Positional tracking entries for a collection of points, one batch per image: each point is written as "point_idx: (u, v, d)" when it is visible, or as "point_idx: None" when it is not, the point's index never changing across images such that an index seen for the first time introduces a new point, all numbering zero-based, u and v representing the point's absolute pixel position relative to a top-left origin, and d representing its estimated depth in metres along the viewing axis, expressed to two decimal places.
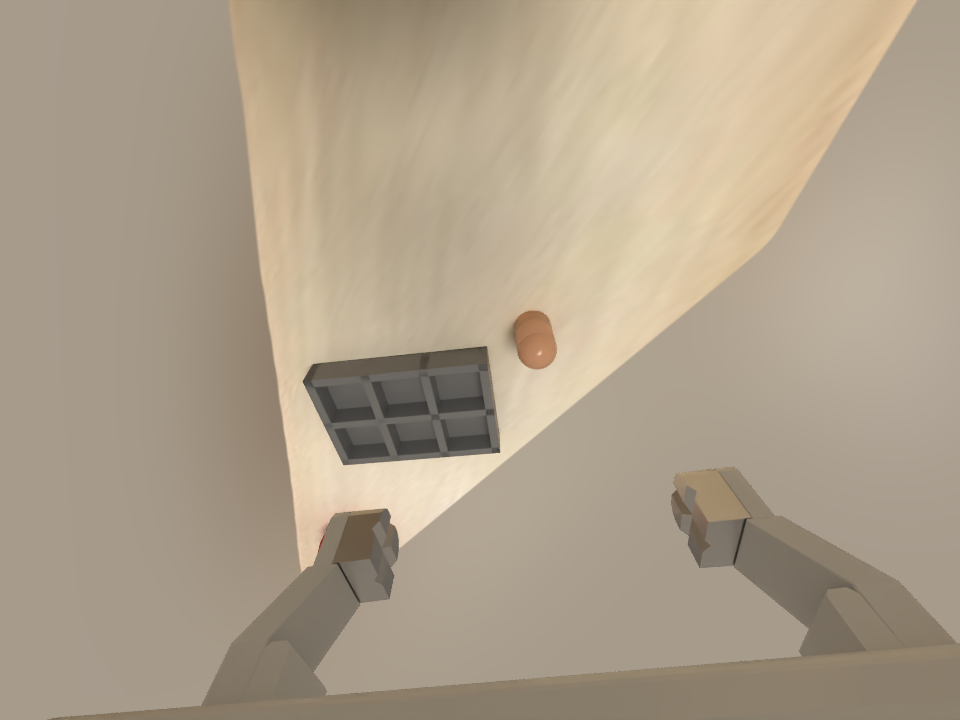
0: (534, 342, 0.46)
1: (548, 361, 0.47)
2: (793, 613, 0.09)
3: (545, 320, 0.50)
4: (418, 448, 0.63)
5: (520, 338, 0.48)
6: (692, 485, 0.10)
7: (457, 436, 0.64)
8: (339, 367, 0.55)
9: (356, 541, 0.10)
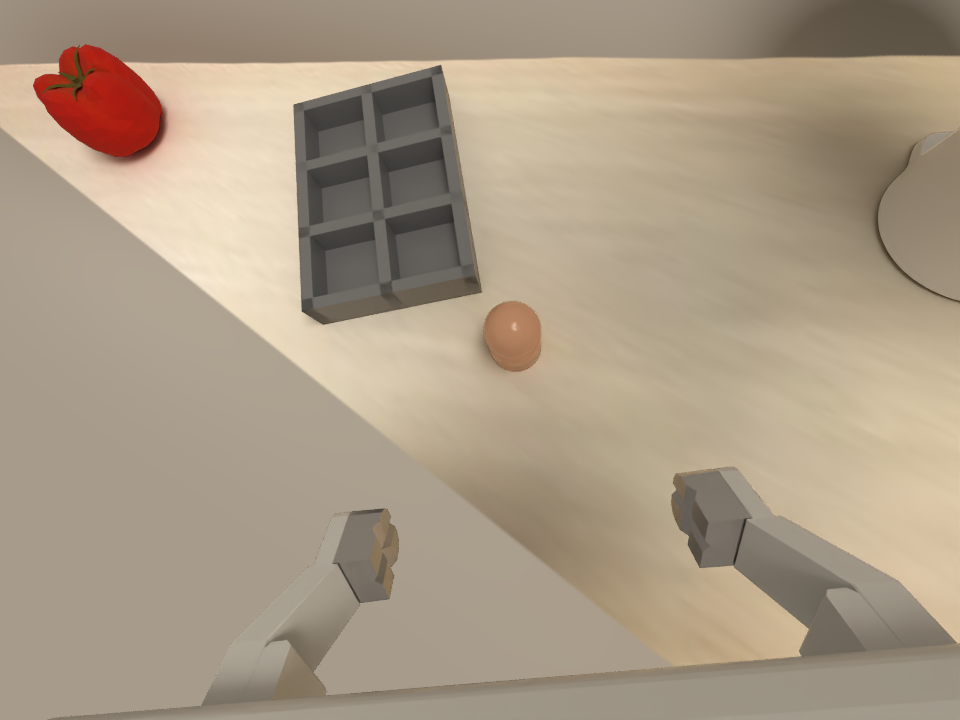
0: (533, 316, 0.32)
1: (508, 336, 0.31)
2: (793, 613, 0.09)
3: (536, 356, 0.36)
4: (313, 202, 0.42)
5: None
6: (692, 485, 0.10)
7: (326, 261, 0.43)
8: (451, 116, 0.44)
9: (356, 541, 0.10)
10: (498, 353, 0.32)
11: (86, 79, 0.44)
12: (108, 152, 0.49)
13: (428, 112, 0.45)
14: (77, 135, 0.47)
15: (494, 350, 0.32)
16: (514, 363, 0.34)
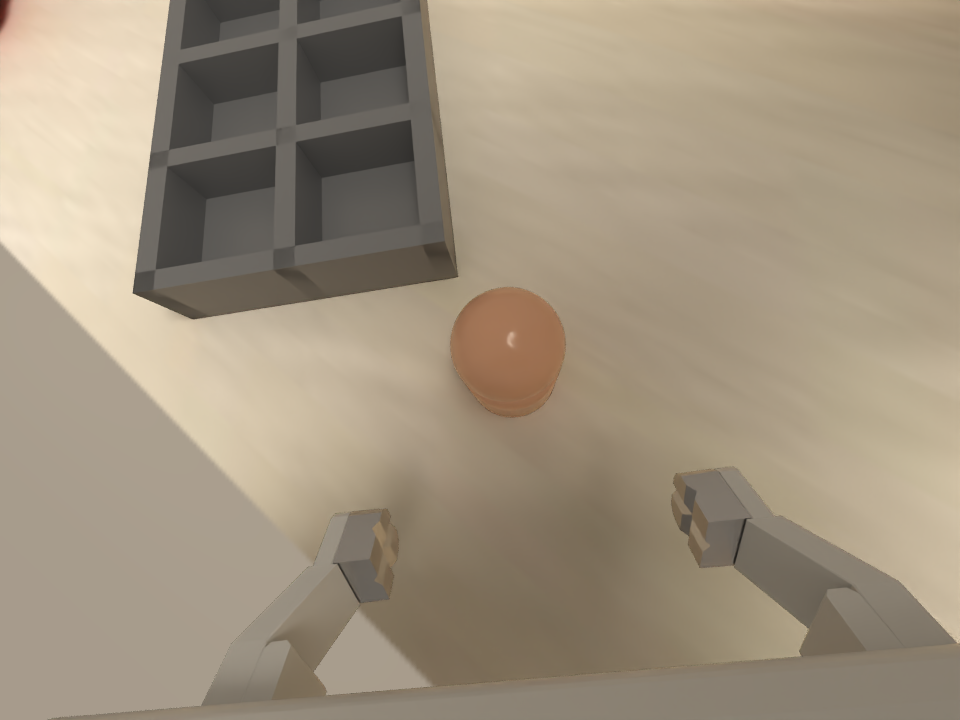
0: (554, 320, 0.15)
1: (499, 359, 0.14)
2: (793, 613, 0.09)
3: (549, 393, 0.20)
4: (189, 117, 0.26)
5: None
6: (692, 485, 0.10)
7: (205, 215, 0.26)
8: (424, 1, 0.28)
9: (356, 541, 0.10)
10: (478, 391, 0.16)
11: None
12: None
13: None
14: None
15: (470, 385, 0.16)
16: (509, 408, 0.18)
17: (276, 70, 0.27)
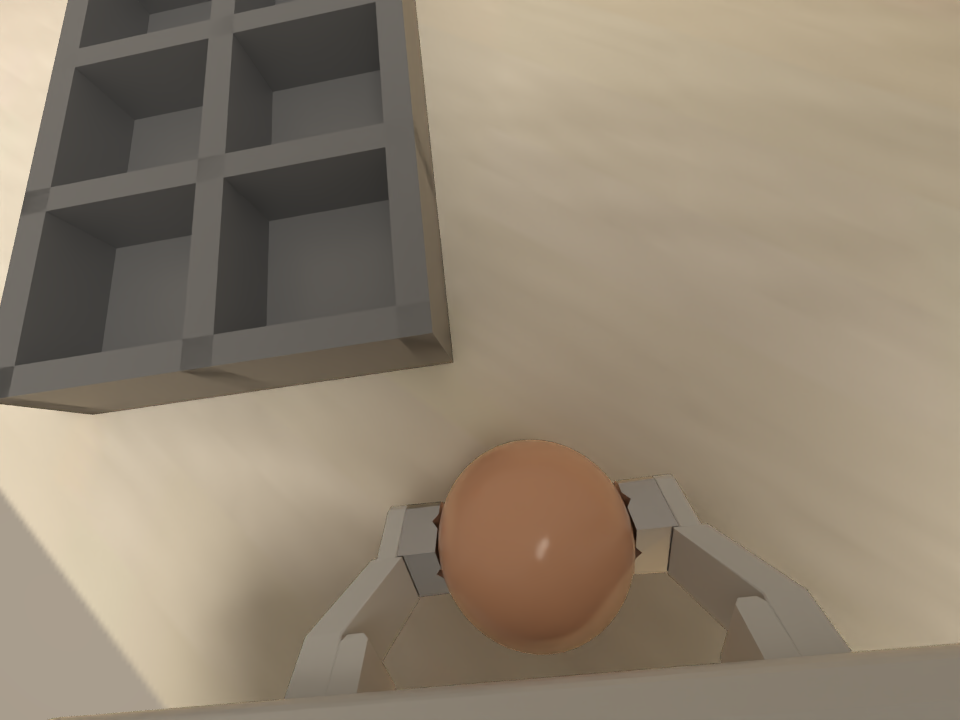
0: (619, 520, 0.09)
1: (526, 619, 0.08)
2: (718, 620, 0.09)
3: None
4: (90, 139, 0.19)
5: None
6: (627, 493, 0.10)
7: (113, 272, 0.19)
8: None
9: (418, 534, 0.10)
10: None
11: None
12: None
13: None
14: None
15: None
16: None
17: None
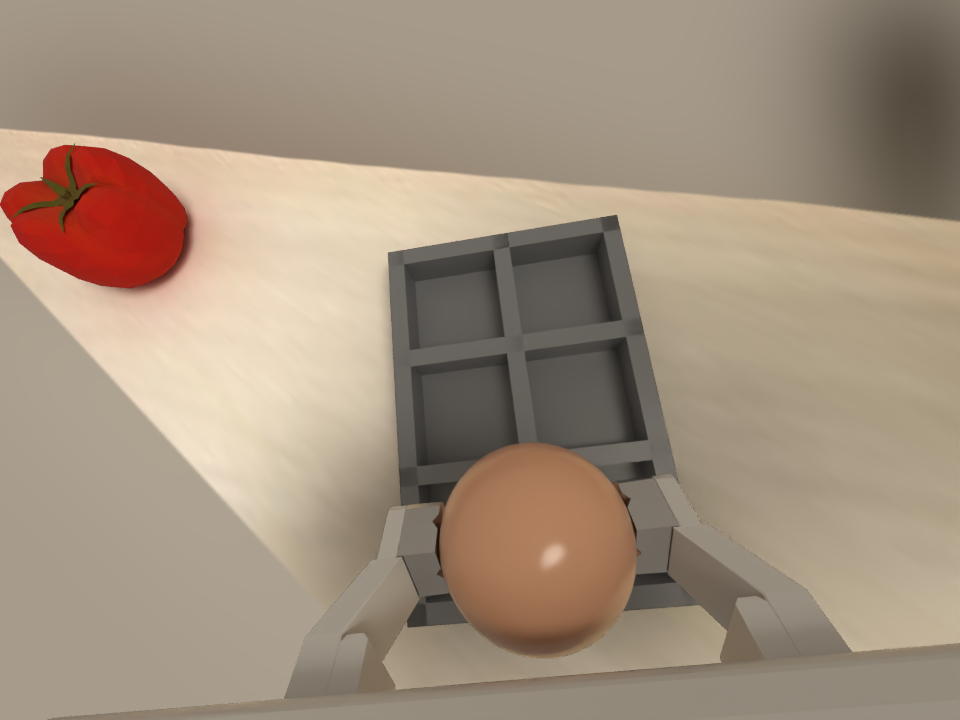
0: (621, 523, 0.09)
1: (528, 623, 0.08)
2: (718, 620, 0.09)
3: None
4: (417, 413, 0.28)
5: None
6: (627, 492, 0.10)
7: (431, 502, 0.28)
8: None
9: (418, 534, 0.10)
10: None
11: (80, 202, 0.29)
12: None
13: (582, 270, 0.31)
14: None
15: None
16: None
17: (492, 361, 0.29)
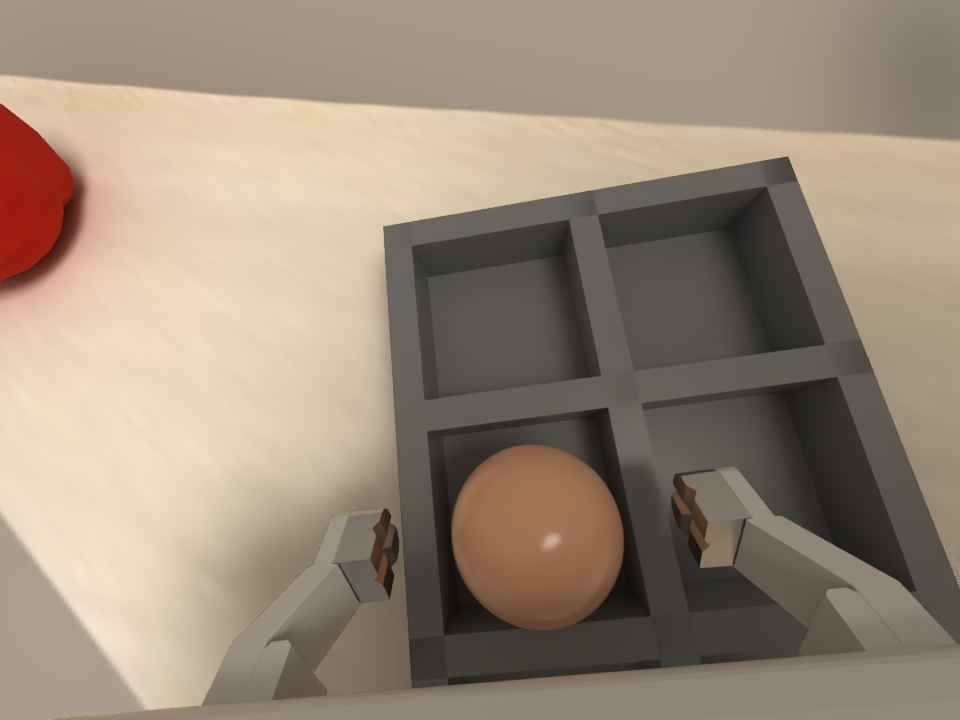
0: (609, 514, 0.10)
1: (530, 598, 0.09)
2: (793, 613, 0.09)
3: None
4: (440, 516, 0.15)
5: None
6: (692, 485, 0.10)
7: (467, 678, 0.15)
8: None
9: (356, 541, 0.10)
10: None
11: None
12: None
13: (707, 257, 0.19)
14: None
15: (481, 603, 0.11)
16: None
17: (570, 416, 0.16)
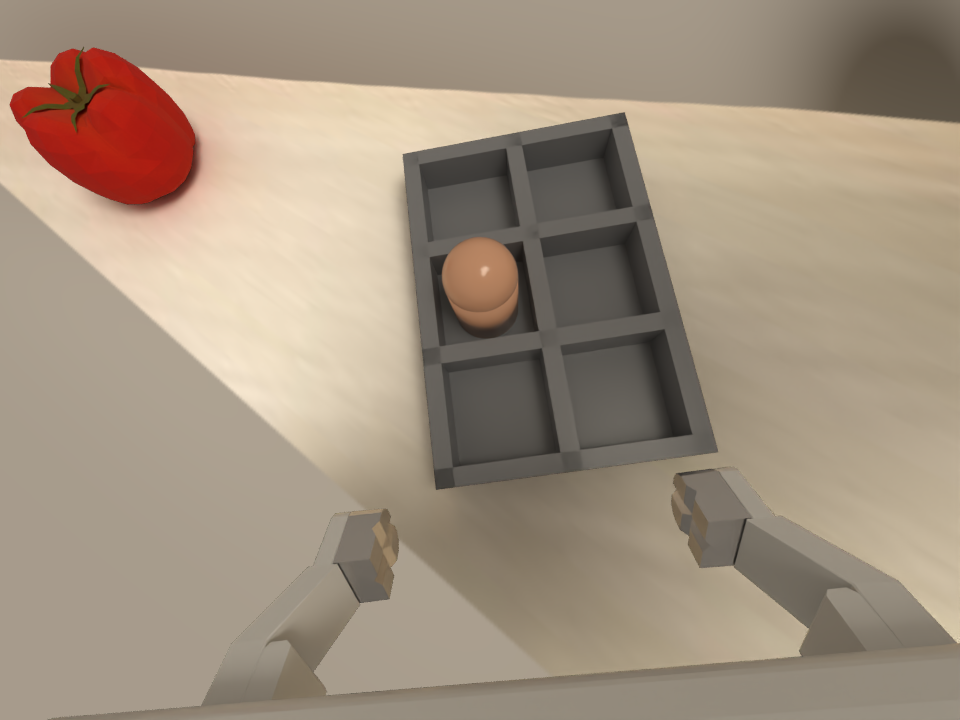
0: (508, 256, 0.24)
1: (473, 279, 0.23)
2: (793, 613, 0.09)
3: (512, 317, 0.28)
4: (437, 303, 0.29)
5: None
6: (692, 485, 0.10)
7: (451, 389, 0.29)
8: None
9: (356, 541, 0.10)
10: (460, 305, 0.24)
11: (94, 100, 0.29)
12: (118, 200, 0.34)
13: (590, 174, 0.32)
14: (74, 178, 0.32)
15: (455, 301, 0.24)
16: (482, 323, 0.26)
17: None
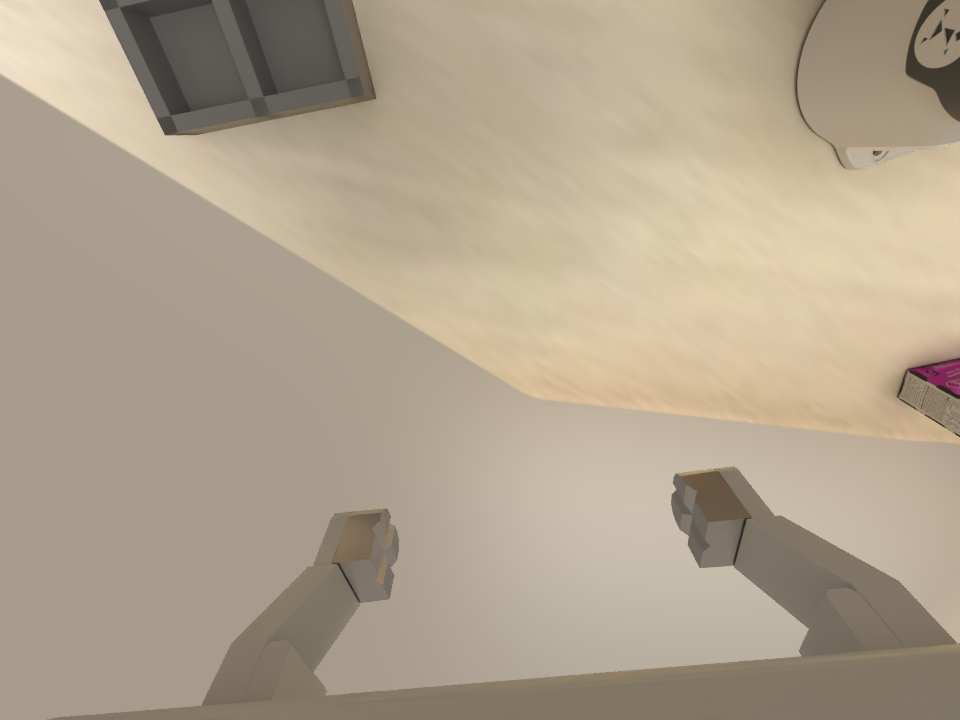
0: None
1: None
2: (793, 613, 0.09)
3: None
4: None
5: None
6: (692, 485, 0.10)
7: (159, 38, 0.32)
8: None
9: (356, 541, 0.10)
10: None
11: None
12: None
13: None
14: None
15: None
16: None
17: None
